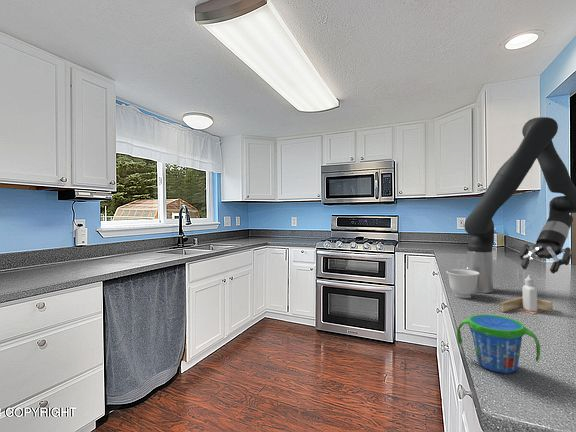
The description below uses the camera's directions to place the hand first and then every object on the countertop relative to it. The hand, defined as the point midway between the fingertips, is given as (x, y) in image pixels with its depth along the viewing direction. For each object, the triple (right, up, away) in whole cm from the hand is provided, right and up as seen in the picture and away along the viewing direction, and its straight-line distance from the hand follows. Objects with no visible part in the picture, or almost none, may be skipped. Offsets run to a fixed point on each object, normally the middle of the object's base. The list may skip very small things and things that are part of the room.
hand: (537, 269), depth 107 cm
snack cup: (-41, -15, -39) cm, 59 cm away
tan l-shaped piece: (-7, -14, -3) cm, 15 cm away
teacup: (-17, -14, +18) cm, 28 cm away
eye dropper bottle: (-4, -14, -2) cm, 15 cm away
